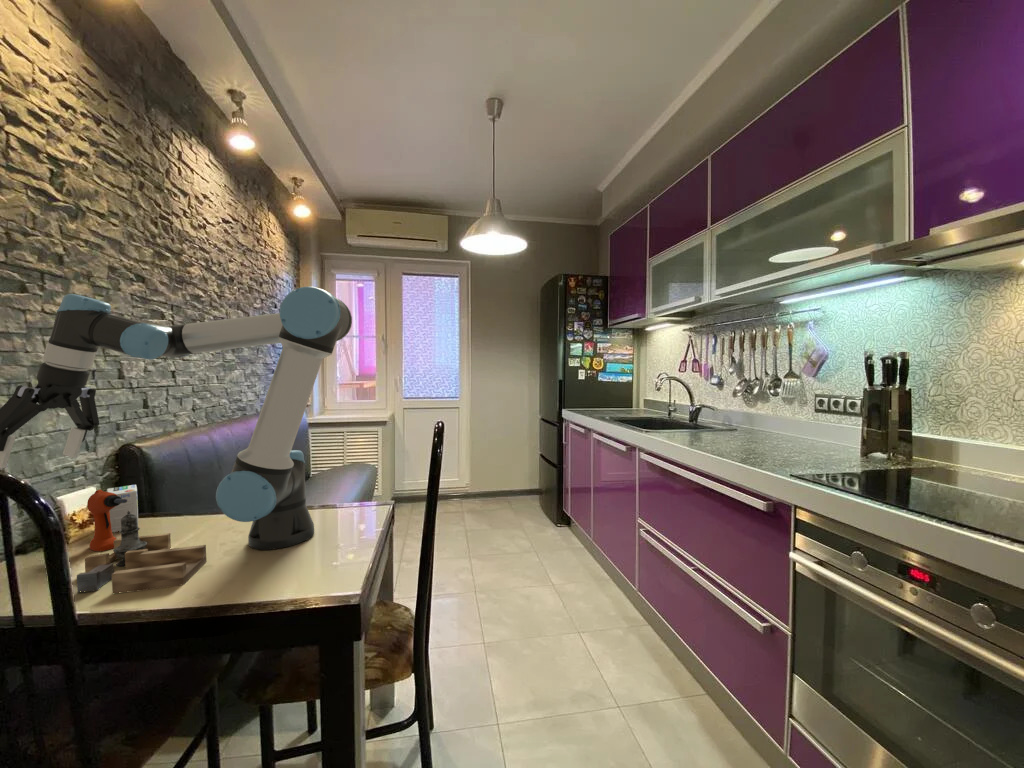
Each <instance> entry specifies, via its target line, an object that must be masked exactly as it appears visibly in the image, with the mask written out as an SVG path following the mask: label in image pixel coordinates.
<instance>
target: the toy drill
mask: <svg viewBox="0 0 1024 768" xmlns="http://www.w3.org/2000/svg"><path fill="white" fill-rule="evenodd" d="M126 502H127V499H122V498H121V497H119V496H117V495H116V494H114V493H110V492H107V491H103V490H102V489H96V490H95V491H94V493H92V494H91V495H90V496H89V497H88V499H87V505H86V506H87V510H88V511H89V512H90V513H91V514H92V516H93V521H94V533H93V538H92V539H91V540H90V543H89V548H90V550H91V551H94V552H104V551H108V550H109V551H110V550H112V549H113V550H114V540H116V539H117V538H116V537H115V536H114V534H113V533H112V529H111V521H110V512H109V511H110V510H111V509H112V508H114V507H115V506H118V505H119V504H121V503H126Z"/></svg>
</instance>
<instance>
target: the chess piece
mask: <svg viewBox="0 0 1024 768" xmlns="http://www.w3.org/2000/svg"><path fill="white" fill-rule="evenodd" d="M140 529H141V528H140V527H139V525H138V526H137V516H136V515H134V514H130V511H128V512H127V515H126V516H124V517H122V519H121V531H119V532H118V533H119V534H120V538H121V544H120V546H119V547H117V548H115V549H114V548H113V550H112V553H114V552H115V555H116V556H117V559H120V560H119V561H118V562H117V563H116V564H115V567H118V568H124V566H125V553H126V552H127V551H133V550H142V549H145V546H146V545H147V542H143V541H140V540H139V531H140Z"/></svg>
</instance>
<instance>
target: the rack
mask: <svg viewBox="0 0 1024 768" xmlns="http://www.w3.org/2000/svg"><path fill="white" fill-rule="evenodd" d="M207 561H208V560H207V545H206V544H202V545H201V544H200V545H192V546H182V547H176V548H175V547H173V548H171V549H164V550H156V551H147V552H143V553H141V554H140V566H139V567H138V568H136V569H128V570H126V569H122V570H121V569H120V570H116V571H114V573H113V574H112V579H111V585H112V589H111V590H112V591H111V592H112V594H113V593H118V594H120V593H119V592H126V593H128V592H127V591H133V592H138V591H137V590H141V591H146V590H155V589H161V588H171V587H177V586H182V585H185V584H186V583H187V582H188V581H189V579H191V578H193V577H194V575H195V574H196V573H197V572H198V571H199V570H200V569H201V568H203V566H204V565H205V564H206V563H207Z"/></svg>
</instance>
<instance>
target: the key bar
mask: <svg viewBox="0 0 1024 768" xmlns="http://www.w3.org/2000/svg"><path fill="white" fill-rule="evenodd" d="M114 567H115V566H114V563H113V562H111V563H110V564H104V565H99V566H97V567H95V568H94V569H92V570H91V571H89V572H86V573H85V572H80V573H78V574H77V575H76V586H77V587H76V588H77V593H78V592H80V591H81V592H83V593H85V592H84V591H91V592H94V591H93V590H97V591H99V590H100V589H101V587H103V586H104V585H106V584H107V583H108V582H109V581H112V574H113V573H114V572H115V568H114ZM102 585H103V586H102ZM99 588H100V589H99ZM98 589H99V590H98Z"/></svg>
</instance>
